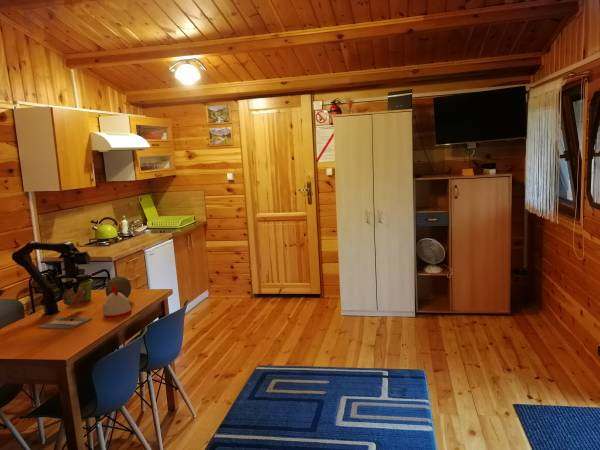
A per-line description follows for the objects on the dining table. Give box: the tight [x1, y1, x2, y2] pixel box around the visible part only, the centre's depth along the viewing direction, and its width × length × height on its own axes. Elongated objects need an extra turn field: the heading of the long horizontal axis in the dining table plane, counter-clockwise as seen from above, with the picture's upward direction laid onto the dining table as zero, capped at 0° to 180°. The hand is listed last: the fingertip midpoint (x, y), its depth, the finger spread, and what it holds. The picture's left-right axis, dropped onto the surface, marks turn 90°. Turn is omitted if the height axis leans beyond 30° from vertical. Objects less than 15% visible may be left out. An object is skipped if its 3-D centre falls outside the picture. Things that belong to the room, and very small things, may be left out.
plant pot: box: [72, 278, 94, 303], centre depth 275 cm, size 12×12×11 cm
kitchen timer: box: [102, 286, 132, 319], centre depth 246 cm, size 14×14×15 cm
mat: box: [38, 316, 92, 330], centre depth 237 cm, size 20×14×1 cm
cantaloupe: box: [105, 276, 132, 299], centre depth 265 cm, size 14×14×15 cm
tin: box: [62, 286, 86, 306], centre depth 254 cm, size 15×3×8 cm, turn 164°
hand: (74, 293), depth 254 cm, fingers closed on tin, 3 cm apart
